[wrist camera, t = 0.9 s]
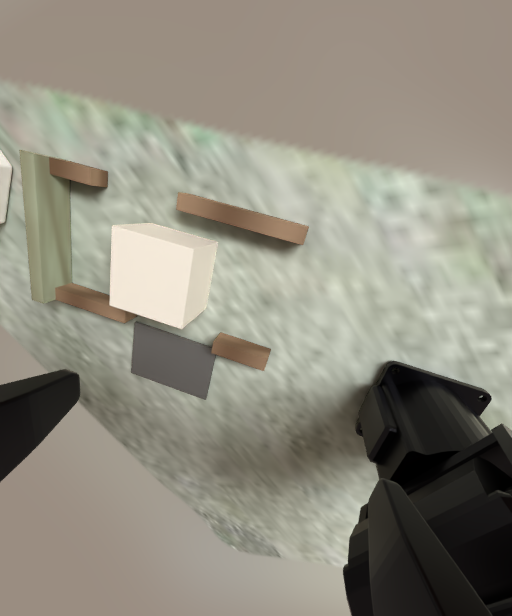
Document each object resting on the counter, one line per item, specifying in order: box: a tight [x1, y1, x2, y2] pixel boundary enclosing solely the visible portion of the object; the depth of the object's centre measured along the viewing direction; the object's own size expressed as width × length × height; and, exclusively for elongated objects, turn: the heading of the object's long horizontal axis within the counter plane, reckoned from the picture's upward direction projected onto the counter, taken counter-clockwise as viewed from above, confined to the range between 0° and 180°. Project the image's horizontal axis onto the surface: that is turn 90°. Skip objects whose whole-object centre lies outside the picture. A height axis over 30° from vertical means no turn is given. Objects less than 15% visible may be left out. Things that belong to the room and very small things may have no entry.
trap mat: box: [131, 322, 216, 400], centre depth 22 cm, size 7×5×1 cm
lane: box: [19, 150, 309, 371], centre depth 18 cm, size 18×10×2 cm, turn 75°
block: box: [110, 223, 218, 329], centre depth 17 cm, size 5×5×4 cm
